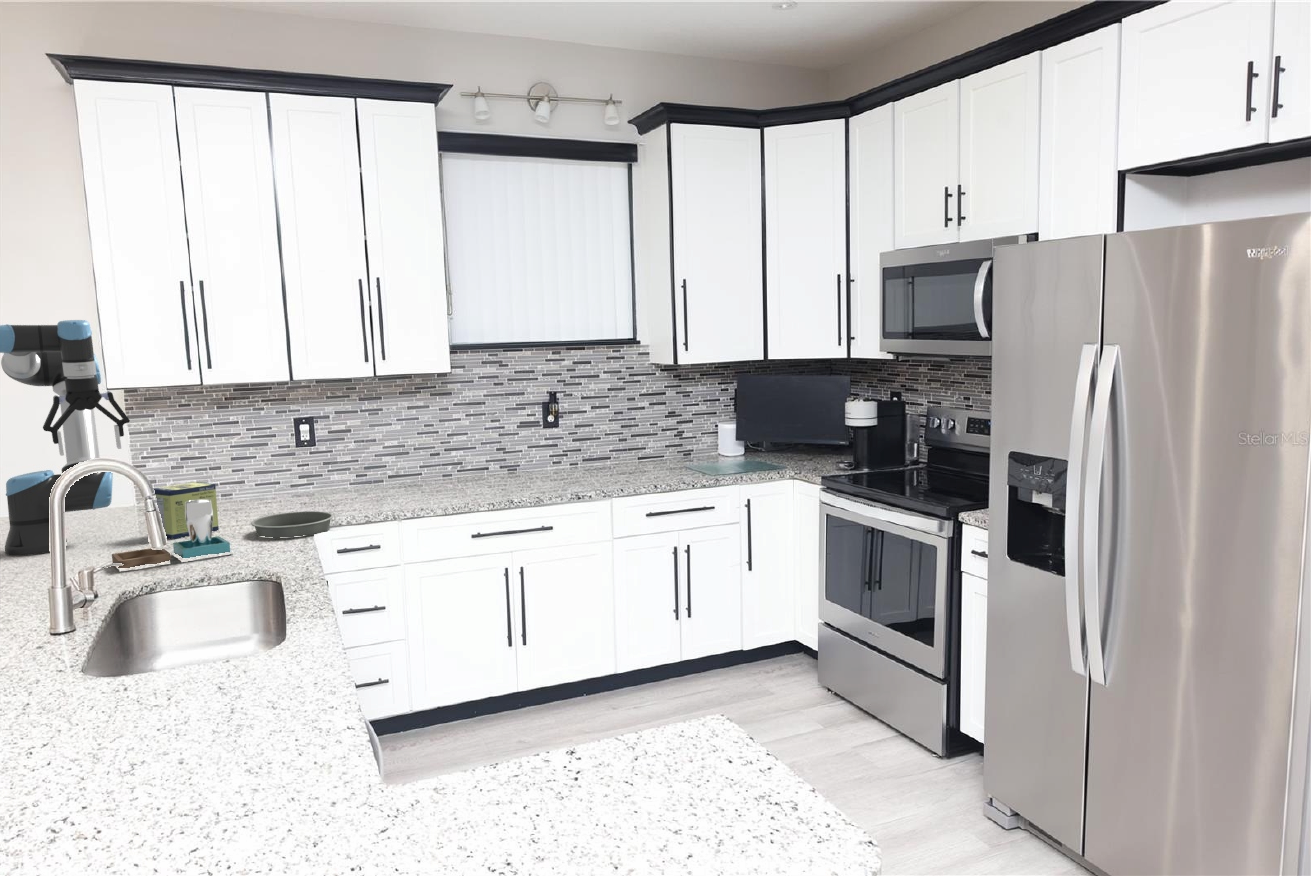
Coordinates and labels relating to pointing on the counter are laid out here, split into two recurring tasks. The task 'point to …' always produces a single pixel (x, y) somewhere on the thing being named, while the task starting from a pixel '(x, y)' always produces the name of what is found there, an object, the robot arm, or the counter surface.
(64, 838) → the counter surface
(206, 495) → the protein box
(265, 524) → the cake pan
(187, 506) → the beer glass
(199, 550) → the teal shallow tray
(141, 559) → the brown square tray
